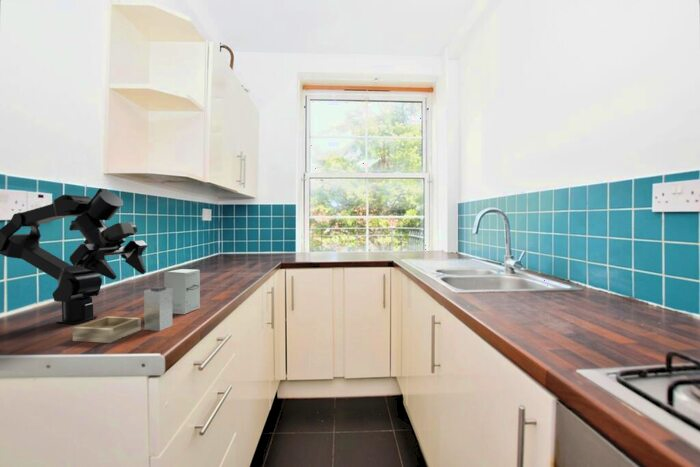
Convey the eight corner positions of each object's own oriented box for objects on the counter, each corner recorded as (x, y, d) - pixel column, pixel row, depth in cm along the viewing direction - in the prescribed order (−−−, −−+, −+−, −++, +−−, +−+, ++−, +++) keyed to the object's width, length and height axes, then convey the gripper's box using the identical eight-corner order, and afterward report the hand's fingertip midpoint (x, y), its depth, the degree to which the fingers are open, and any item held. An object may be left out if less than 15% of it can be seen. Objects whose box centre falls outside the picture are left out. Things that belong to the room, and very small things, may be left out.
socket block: (144, 329, 85) (144, 288, 85) (157, 324, 89) (157, 285, 89) (159, 330, 84) (159, 289, 84) (172, 325, 88) (172, 286, 88)
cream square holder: (72, 340, 77) (72, 327, 76) (107, 327, 86) (107, 316, 86) (109, 342, 75) (109, 329, 75) (141, 329, 85) (140, 318, 85)
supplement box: (185, 314, 99) (184, 272, 98) (163, 313, 100) (163, 271, 100) (200, 308, 106) (200, 269, 105) (180, 307, 107) (180, 268, 107)
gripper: (79, 210, 79) (118, 259, 77) (142, 212, 97) (174, 252, 96) (52, 241, 81) (89, 290, 79) (119, 238, 99) (150, 277, 98)
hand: (130, 275), depth 88 cm, fingers open, 9 cm apart
